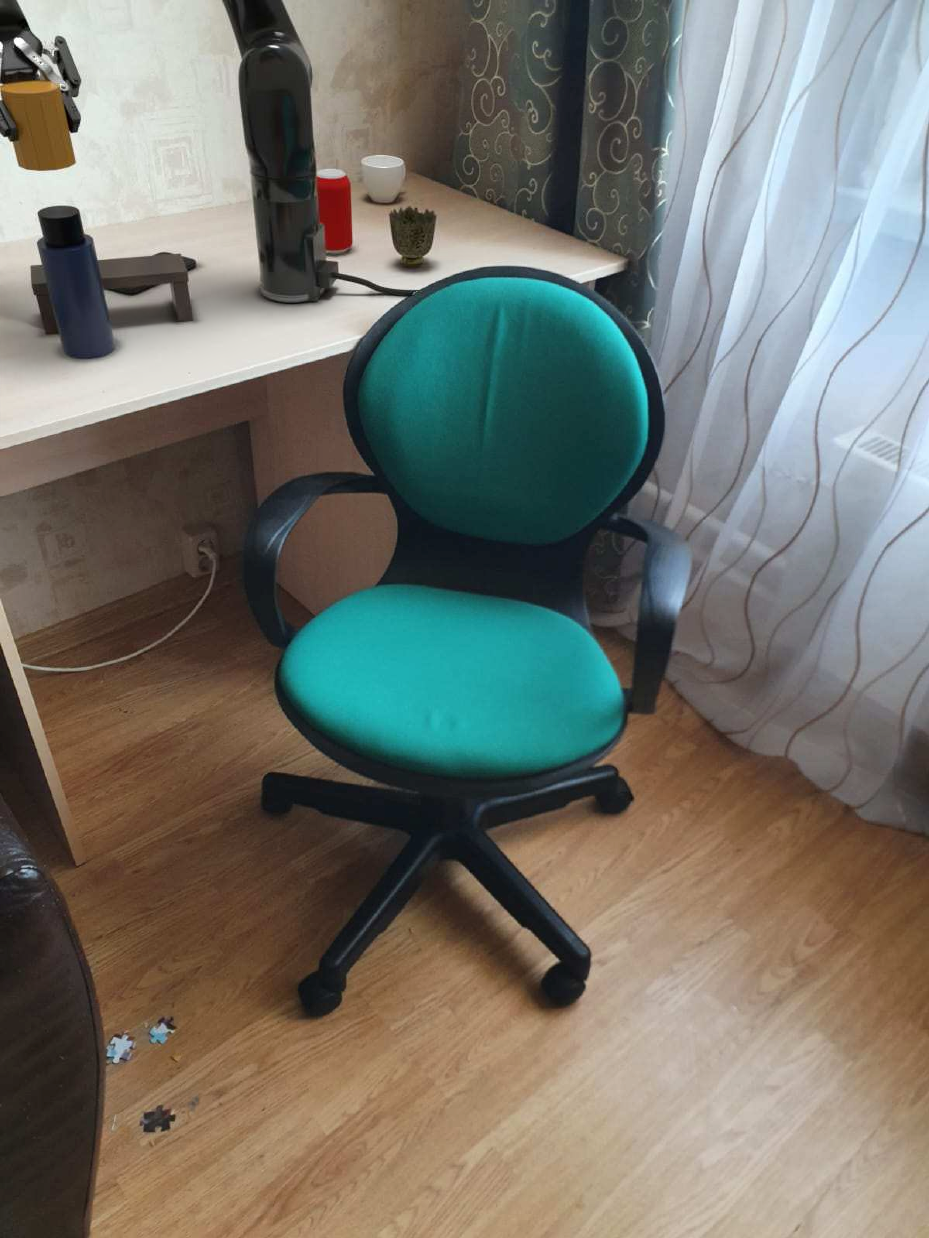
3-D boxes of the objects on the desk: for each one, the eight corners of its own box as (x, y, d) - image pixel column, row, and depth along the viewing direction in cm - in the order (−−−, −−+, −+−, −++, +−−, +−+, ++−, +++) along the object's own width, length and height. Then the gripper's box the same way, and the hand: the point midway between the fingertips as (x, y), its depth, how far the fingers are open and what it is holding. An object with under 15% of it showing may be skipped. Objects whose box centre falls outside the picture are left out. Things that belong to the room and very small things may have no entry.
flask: (124, 340, 129) (96, 206, 117) (101, 361, 124) (70, 223, 112) (78, 335, 129) (46, 201, 118) (53, 355, 124) (18, 217, 113)
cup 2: (443, 262, 156) (444, 211, 150) (422, 276, 150) (423, 224, 145) (402, 253, 158) (402, 203, 153) (381, 267, 153) (380, 216, 147)
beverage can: (308, 247, 158) (303, 171, 150) (338, 240, 161) (335, 165, 153) (329, 258, 155) (325, 180, 147) (360, 251, 158) (358, 174, 150)
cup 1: (353, 199, 178) (352, 161, 174) (388, 188, 184) (388, 150, 180) (385, 209, 175) (384, 170, 170) (419, 197, 181) (420, 159, 177)
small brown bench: (188, 301, 139) (180, 253, 135) (194, 320, 134) (187, 271, 130) (42, 315, 134) (30, 265, 129) (44, 335, 129) (31, 284, 124)
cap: (85, 158, 114) (69, 83, 108) (59, 173, 109) (41, 95, 104) (36, 153, 114) (18, 78, 109) (8, 168, 110) (-12, 90, 104)
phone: (199, 260, 149) (131, 290, 139) (200, 265, 150) (132, 295, 140) (162, 250, 152) (93, 279, 142) (163, 256, 152) (94, 284, 142)
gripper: (-91, -26, 100) (-17, 121, 101) (43, -33, 108) (111, 104, 109) (-90, 24, 107) (-21, 162, 108) (36, 14, 114) (100, 143, 115)
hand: (45, 132), depth 108 cm, fingers closed on cap, 6 cm apart
